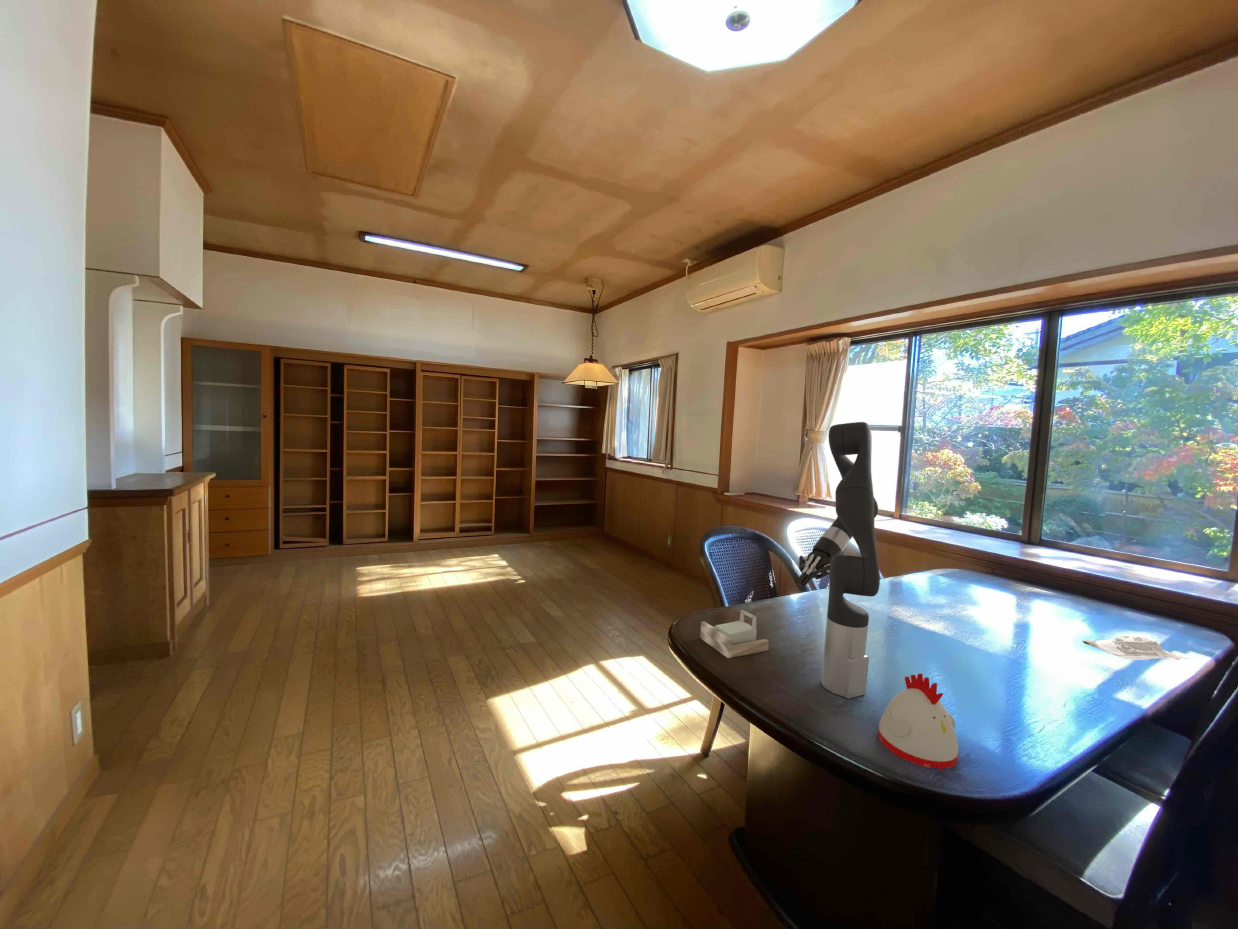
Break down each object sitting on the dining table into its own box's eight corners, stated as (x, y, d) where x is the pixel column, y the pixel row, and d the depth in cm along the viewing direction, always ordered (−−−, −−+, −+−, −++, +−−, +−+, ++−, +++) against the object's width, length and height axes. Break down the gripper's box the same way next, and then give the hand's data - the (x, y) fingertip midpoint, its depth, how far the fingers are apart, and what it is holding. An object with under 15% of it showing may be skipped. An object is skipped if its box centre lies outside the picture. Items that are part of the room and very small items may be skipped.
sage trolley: (756, 649, 141) (759, 617, 140) (730, 656, 136) (732, 622, 135) (738, 639, 147) (740, 608, 147) (712, 644, 143) (714, 613, 142)
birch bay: (768, 650, 140) (769, 633, 140) (727, 658, 134) (729, 640, 134) (738, 631, 152) (739, 616, 152) (700, 638, 146) (701, 621, 146)
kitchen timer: (917, 774, 91) (925, 697, 90) (863, 729, 105) (869, 662, 103) (974, 764, 95) (983, 690, 94) (915, 722, 108) (921, 656, 107)
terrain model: (1077, 647, 158) (1078, 632, 158) (1121, 638, 166) (1122, 623, 165) (1146, 672, 142) (1148, 655, 142) (1191, 660, 150) (1192, 644, 149)
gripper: (810, 532, 161) (778, 571, 157) (843, 541, 149) (810, 583, 145) (820, 546, 164) (789, 585, 159) (854, 557, 152) (822, 599, 148)
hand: (799, 584), depth 152 cm, fingers closed
